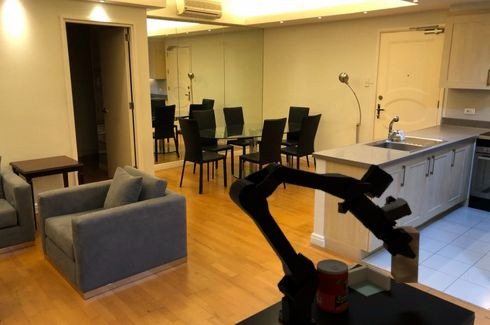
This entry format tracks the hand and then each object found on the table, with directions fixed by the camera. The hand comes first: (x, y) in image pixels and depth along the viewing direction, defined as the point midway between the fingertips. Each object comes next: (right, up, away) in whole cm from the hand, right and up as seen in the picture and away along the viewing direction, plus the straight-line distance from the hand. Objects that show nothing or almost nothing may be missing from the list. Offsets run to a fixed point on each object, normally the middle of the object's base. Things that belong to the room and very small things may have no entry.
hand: (410, 253), depth 101 cm
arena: (-9, -12, +10) cm, 19 cm away
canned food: (-19, -14, +2) cm, 24 cm away
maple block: (-1, -7, +1) cm, 7 cm away
